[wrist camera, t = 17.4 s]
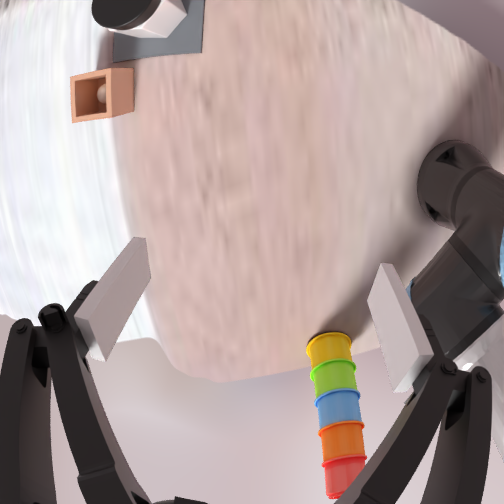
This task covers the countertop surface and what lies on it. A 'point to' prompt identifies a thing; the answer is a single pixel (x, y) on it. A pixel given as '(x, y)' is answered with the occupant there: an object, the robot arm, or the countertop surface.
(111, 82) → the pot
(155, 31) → the jar
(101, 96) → the ball
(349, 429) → the stacking cups
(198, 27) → the mat
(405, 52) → the countertop surface
